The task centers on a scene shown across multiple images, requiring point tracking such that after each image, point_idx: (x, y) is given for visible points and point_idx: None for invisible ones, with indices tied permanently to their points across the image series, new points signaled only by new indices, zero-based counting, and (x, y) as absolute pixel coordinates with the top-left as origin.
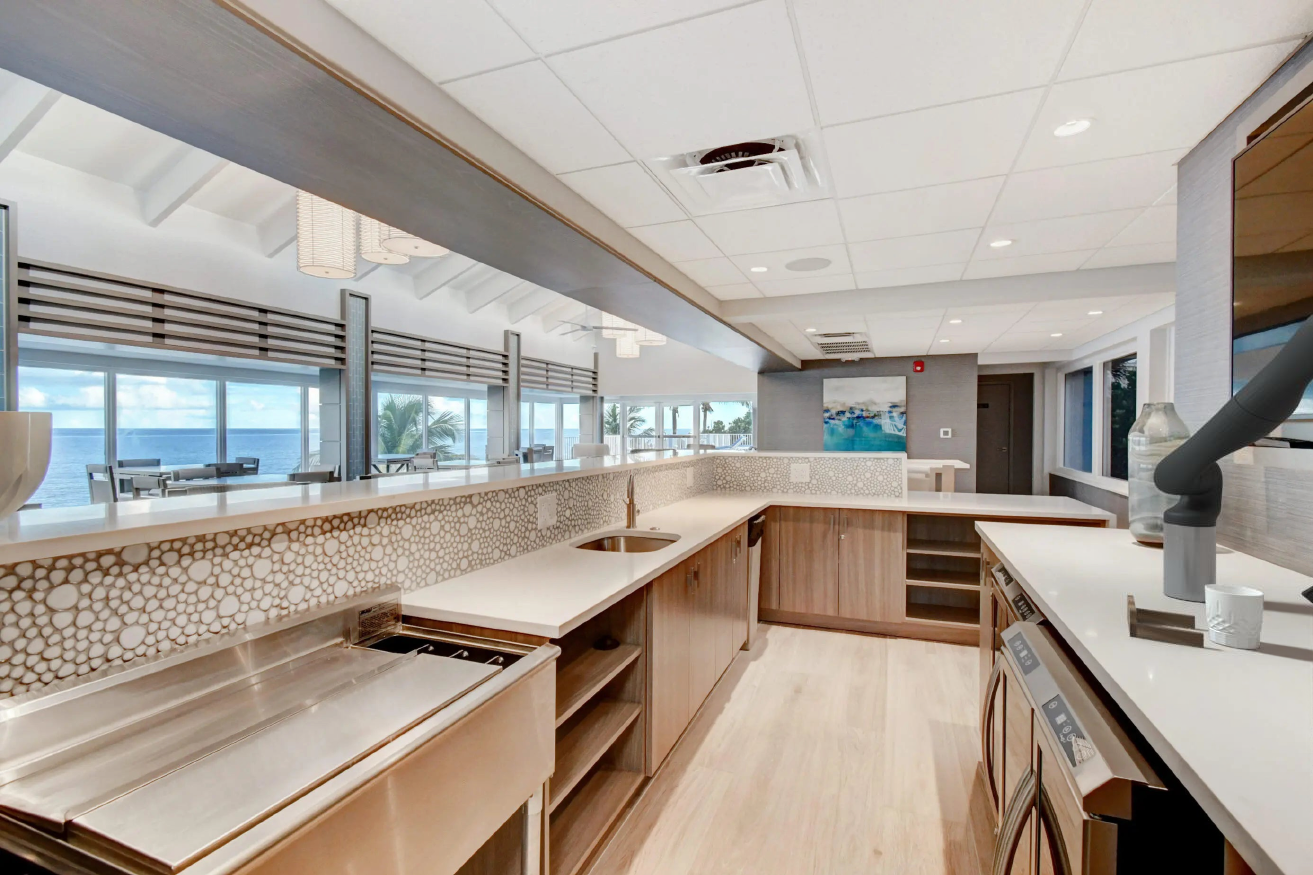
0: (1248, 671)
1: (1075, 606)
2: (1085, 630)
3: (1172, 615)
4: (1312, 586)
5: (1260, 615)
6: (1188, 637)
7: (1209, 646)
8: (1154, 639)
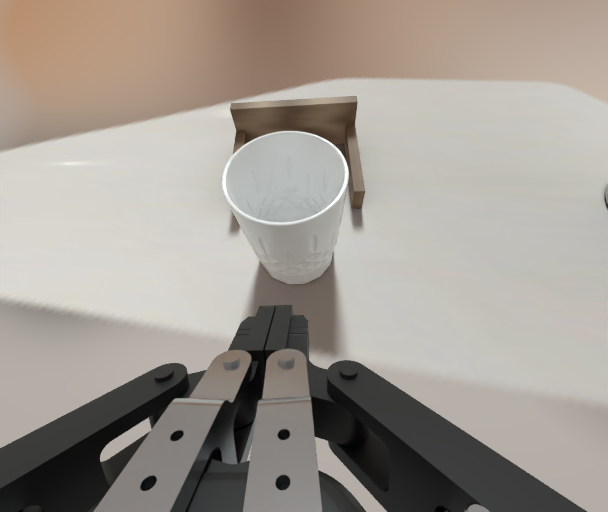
0: (131, 255)
1: (375, 90)
2: None
3: (350, 167)
4: (280, 325)
5: (261, 249)
6: None
7: None
8: None
